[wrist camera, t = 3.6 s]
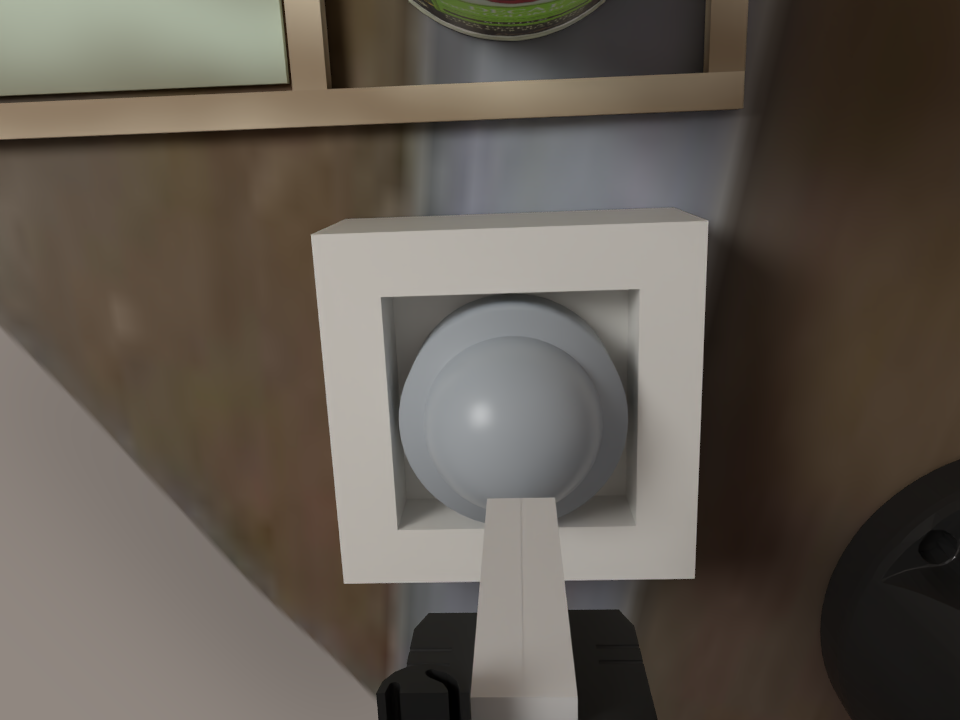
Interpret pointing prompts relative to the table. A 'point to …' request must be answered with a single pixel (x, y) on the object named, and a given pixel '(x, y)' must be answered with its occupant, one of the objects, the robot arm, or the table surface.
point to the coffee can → (507, 16)
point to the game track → (263, 61)
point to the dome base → (523, 270)
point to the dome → (513, 406)
